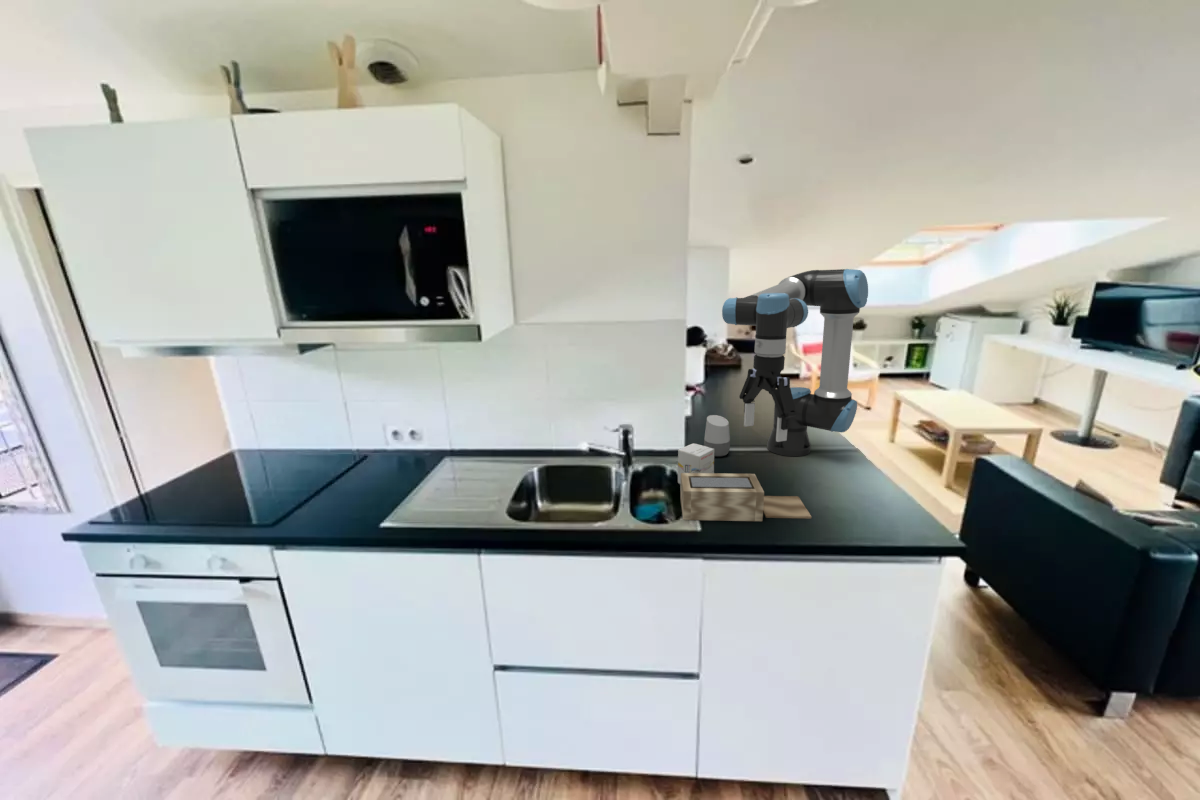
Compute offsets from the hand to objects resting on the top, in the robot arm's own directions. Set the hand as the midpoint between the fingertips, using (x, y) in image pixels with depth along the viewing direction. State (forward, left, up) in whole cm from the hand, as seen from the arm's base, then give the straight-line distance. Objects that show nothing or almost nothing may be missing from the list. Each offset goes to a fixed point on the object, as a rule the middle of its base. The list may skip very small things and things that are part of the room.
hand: (764, 433), depth 130 cm
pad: (-3, +7, -24) cm, 25 cm away
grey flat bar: (-1, -11, -17) cm, 21 cm away
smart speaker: (-44, -6, -24) cm, 50 cm away
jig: (-1, -11, -24) cm, 26 cm away
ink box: (-19, -16, -24) cm, 34 cm away
